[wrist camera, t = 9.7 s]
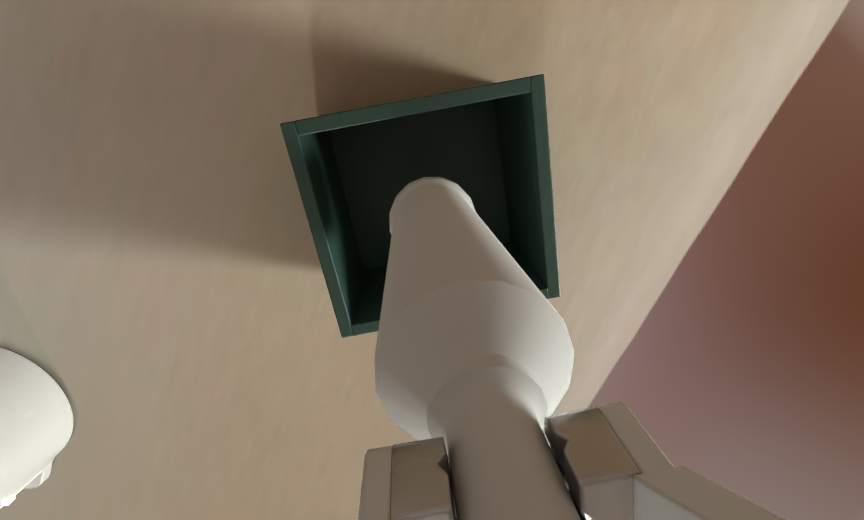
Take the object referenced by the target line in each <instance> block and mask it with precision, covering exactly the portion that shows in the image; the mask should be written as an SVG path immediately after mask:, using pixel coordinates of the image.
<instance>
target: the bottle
mask: <svg viewBox="0 0 864 520" xmlns="http://www.w3.org/2000/svg"><path fill="white" fill-rule="evenodd" d="M389 218H390V233H391V235H392V236H391V243H390V250H389V258H388V265H387V272H386V279H385V286H384V293H383V301H382V308H381V315H380V322H379V329H378V337H377V344H376V351H375V385H376V394H377V395H378V397H379V399H380V401H381V403H382V404H383V406H384V408H385V410H386V412H387V414H388V415H389V417H390V419H391V421H392V422H393V423H395V424H396V425H397V426H399V427H400V428H401V429H403V430H404V431H405V432H407V433H408V434H409V435H411V436H412V437H413V438H415V439H416V440H417V441H420V440H426V439H432V438H438V437H443V438H444V442H445V446H446V450H447V455H448V460H449V467H450V475H451V482H452V489H453V496H454V503H455V510H456V517H457V520H581V519H580V517H579V515H578V512H577V510H576V508H575V506H574V503H573V501H572V499H571V496H570V494H569V492H568V489H567V487H566V485H565V482H564V480H563V478H562V475H561V473H560V471H559V468H558V466H557V464H556V462H555V459H554V457H553V455H552V452H551V450H550V448H549V445H548V443H547V441H546V438H545V436H544V434H543V431H542V430H543V428H544V427H545V426H544V420H545V417H546V416H551V415H552V413H553V412H554V410H555V409H556V407H557V405H558V404H559V402H560V401H561V399H562V397H563V396H564V394H565V393H566V391H567V389H568V388H569V386H570V380H571V374H572V367H573V361H574V354H575V352H574V349H573V346H572V343H571V340H570V337H569V333H568V330H567V327H566V324H565V321H564V320H563V318H562V317H561V316H560V315H559V313H558V312H557V311H556V310H555V309H554V307H553V306H552V305H551V304H550V302H549V301H548V300H547V299H546V298H545V296H544V295H543V294H542V293H541V291H540V290H539V289H538V288H537V287H536V285H535V284H534V283H533V282H532V280H531V279H530V278H529V277H528V276H527V274H526V273H525V272H524V271H523V269H522V268H521V267H520V266H519V265H518V263H517V262H516V261H515V260H514V258H513V257H512V256H511V255H510V254H509V252H508V251H507V250H506V249H505V247H504V246H503V245H502V244H501V243H500V241H499V240H498V239H497V238H496V236H495V235H494V234H493V233H492V232H491V230H490V229H489V228H488V227H487V225H486V224H485V223H484V222H483V221H482V219H481V218H480V217H479V216H478V214H477V213H476V211H475V209H474V206H473V203H472V200H471V198H470V197H469V196H468V195H467V194H466V193H465V192H464V191H463V189H462V188H461V187H460V186H459V185H458V184H456V183H454V182H452V181H449V180H447V179H445V178H442V177H422V178H420V179H418V180H415V181H413V182H410V183H408V184H407V185H406V186H405V187H404V188H403V189H402V190H401V191H400V192H399V193H398V194H397V195H396V198H395V200H394V203H393V205H392V208H391V210H390V214H389Z"/></svg>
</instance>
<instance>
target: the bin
mask: <svg viewBox="0 0 864 520" xmlns="http://www.w3.org/2000/svg"><path fill="white" fill-rule="evenodd" d="M280 126H281V129H282V133H283V136H284V139H285V143H286V146H287V150H288V153H289V157H290V160H291V163H292V167H293V170H294V174H295V177H296V181H297V184H298V188H299V191H300V194H301V198H302V201H303V205H304V208H305V212H306V215H307V219H308V222H309V225H310V229H311V232H312V236H313V239H314V243H315V246H316V250H317V253H318V256H319V260H320V263H321V267H322V270H323V274H324V277H325V281H326V284H327V287H328V291H329V294H330V298H331V301H332V305H333V308H334V312H335V315H336V318H337V322H338V325H339V329H340V332H341V336H342V338H344V337H350V336H356V335H361V334H366V333H372V332H377V331H378V329H379V322H380V315H381V308H382V301H383V293H384V286H385V279H386V272H387V265H388V258H389V250H390V243H391V236H392V235H391V233H390V218H389V214H390V210H391V208H392V205H393V203H394V200H395V198H396V195H397V194H398V193H399V192H400V191H401V190H402V189H403V188H404V187H405V186H406V185H407V184H408V183H410V182H413V181H415V180H418V179H420V178H422V177H442V178H445V179H447V180H449V181H452V182H454V183H456V184H458V185H459V186H460V187H461V188H462V189H463V191H464V192H465V193H466V194H467V195H468V196H469V197H470V198H471V200H472V203H473V206H474V209H475V211H476V213H477V214H478V216H479V217H480V218H481V219H482V221H483V222H484V223H485V224H486V225H487V227H488V228H489V229H490V230H491V232H492V233H493V234H494V235H495V236H496V238H497V239H498V240H499V241H500V243H501V244H502V245H503V246H504V247H505V249H506V250H507V251H508V252H509V254H510V255H511V256H512V257H513V258H514V260H515V261H516V262H517V263H518V265H519V266H520V267H521V268H522V269H523V271H524V272H525V273H526V274H527V276H528V277H529V278H530V279H531V280H532V282H533V283H534V284H535V285H536V287H537V288H538V289H539V290H540V291H541V293H542V294H543V295H544V296H545V298H546V299H548V298H555V297H560V285H559V271H558V258H557V244H556V231H555V217H554V204H553V190H552V177H551V163H550V150H549V136H548V122H547V109H546V95H545V82H544V74H541V75H536V76H530V77H525V78H520V79H514V80H509V81H504V82H498V83H493V84H488V85H482V86H477V87H472V88H466V89H461V90H456V91H451V92H445V93H440V94H435V95H429V96H424V97H419V98H413V99H408V100H403V101H397V102H392V103H387V104H381V105H376V106H371V107H365V108H360V109H355V110H350V111H344V112H339V113H334V114H328V115H323V116H318V117H312V118H307V119H302V120H296V121H291V122H286V123H281V124H280Z"/></svg>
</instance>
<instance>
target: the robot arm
mask: <svg viewBox="0 0 864 520" xmlns="http://www.w3.org/2000/svg"><path fill="white" fill-rule="evenodd" d="M544 426H545V434H546V436H547V438H548V441H549V443H550V446H549V448H550V450H551V452H552V455H553V457H554V459H555V462H556V464H557V466H558V468H559V471H560V473H561V475H562V478H563V480H564V482H565V485H566V487H567V489H568V492H569V494H570V496H571V499H572V501H573V503H574V506H575V508H576V510H577V512H578V515H579V517H580V519H581V520H785V519H783V518H781V517H779V516H777V515H775V514H773V513H771V512H770V511H768V510H766V509H764V508H762V507H760V506H758V505H756V504H754V503H752V502H750V501H749V500H747V499H745V498H743V497H741V496H739V495H737V494H735V493H733V492H731V491H729V490H728V489H726V488H724V487H722V486H720V485H718V484H716V483H714V482H712V481H710V480H709V479H707V478H705V477H703V476H701V475H699V474H697V473H695V472H693V471H692V470H690V469H688V468H686V467H684V466H679V467H673V465H672V464H671V462H670V461H669V460H668V459H667V457H666V456H665V455H664V454H663V452H662V451H661V449H660V448H659V447H658V446H657V444H656V443H655V442H654V440H653V439H652V438H651V437H650V435H649V434H648V432H647V431H646V430H645V429H644V427H643V426H642V425H641V424H640V422H639V421H638V419H637V418H636V417H635V416H634V414H633V413H632V412H631V410H630V409H629V408H628V406H627V405H626V404H625V403H623V402H621V401H619V402H614V403H609V404H605V405H600V406H595V407H591V408H586V409H581V410H576V411H571V412H566V413H561V414H556V415H551V416H546V417H545V420H544ZM72 430H73V413H72V409H71V406H70V403H69V401H68V399H67V397H66V395H65V394H64V392H63V390H62V389H61V388H60V386H59V385H58V384H57V383H56V382H55V380H54V379H53V378H52V377H51V376H50V375H48V374H47V373H46V372H45V371H44V370H43V369H41V368H40V367H39V366H37V365H36V364H34V363H33V362H31V361H30V360H28V359H26V358H24V357H23V356H21V355H19V354H16V353H14V352H12V351H9V350H7V349H4V348H1V347H0V508H2V507H3V506H8V505H9V504H10V503H11V502H12V501H13V500H14V499H15V497H14V496H15V495H16V494H17V493H18V492H20V491H21V490H22V489H29V488H36V487H38V486H39V485H41V484H42V483H43V482H44V481H45V480H46V479H47V478H48V477H49V475H50V472H51V468H52V462H53V459H54V458H55V456H56V455H57V454H58V453H59V452H60V451H61V450H62V449H63V448H64V447H65V446H66V444H67V443H68V441H69V439H70V437H71V434H72ZM358 520H457V517H456V510H455V503H454V496H453V489H452V482H451V475H450V468H449V463H448V456H447V450H446V446H445V442H444V438H443V437H438V438H432V439H426V440H420V441H414V442H408V443H402V444H396V445H393V446H388V447H381V448H375V449H369V450H367V453H366V455H365V459H364V469H363V479H362V488H361V498H360V507H359V517H358Z"/></svg>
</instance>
